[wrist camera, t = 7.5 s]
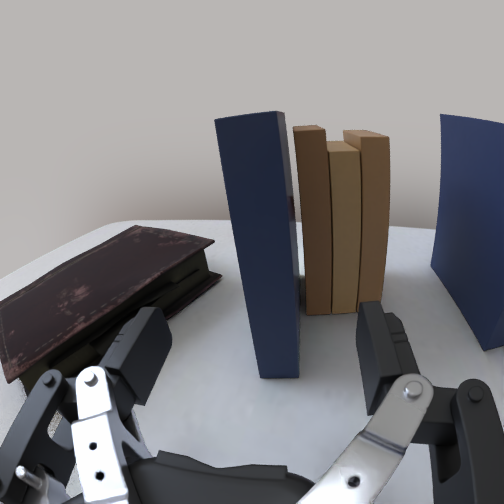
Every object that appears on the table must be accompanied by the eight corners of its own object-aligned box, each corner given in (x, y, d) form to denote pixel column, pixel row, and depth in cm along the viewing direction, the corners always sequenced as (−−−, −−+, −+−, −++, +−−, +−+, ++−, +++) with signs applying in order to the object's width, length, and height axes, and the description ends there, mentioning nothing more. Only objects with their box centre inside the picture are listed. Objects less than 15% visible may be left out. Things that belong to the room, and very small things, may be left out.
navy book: (299, 274, 31) (284, 112, 23) (298, 377, 19) (276, 110, 11) (274, 275, 32) (253, 115, 24) (260, 378, 19) (214, 119, 12)
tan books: (365, 270, 30) (365, 123, 23) (379, 310, 24) (389, 128, 17) (304, 274, 31) (292, 126, 24) (306, 315, 25) (293, 130, 18)
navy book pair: (467, 262, 27) (480, 120, 20) (524, 338, 15) (575, 145, 7) (430, 265, 28) (439, 113, 21) (483, 351, 16) (536, 131, 8)
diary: (9, 332, 26) (-9, 301, 24) (141, 251, 43) (132, 222, 40) (39, 421, 15) (3, 382, 13) (228, 280, 32) (220, 240, 30)
